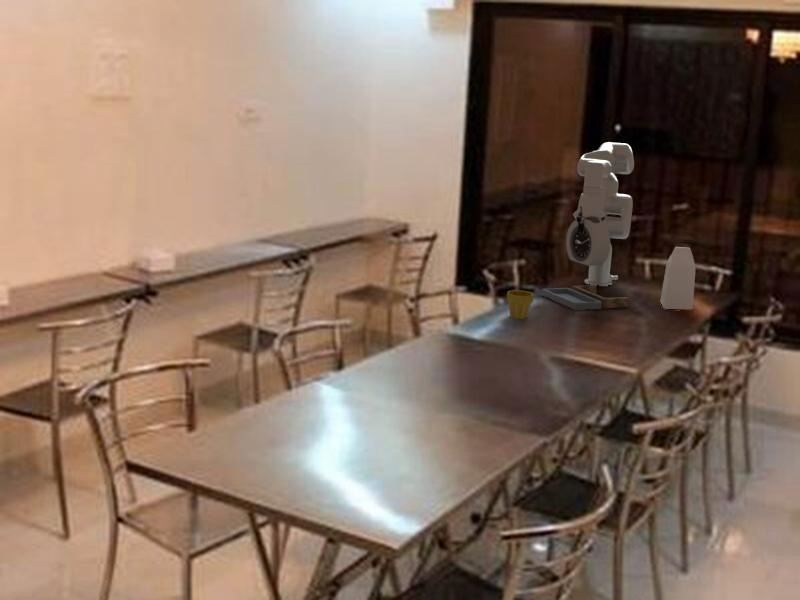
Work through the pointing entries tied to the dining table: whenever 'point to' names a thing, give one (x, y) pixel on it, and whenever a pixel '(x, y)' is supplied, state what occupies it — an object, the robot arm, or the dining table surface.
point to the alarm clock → (588, 242)
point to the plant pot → (519, 303)
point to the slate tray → (572, 298)
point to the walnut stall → (606, 302)
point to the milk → (679, 280)
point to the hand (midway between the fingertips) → (588, 232)
